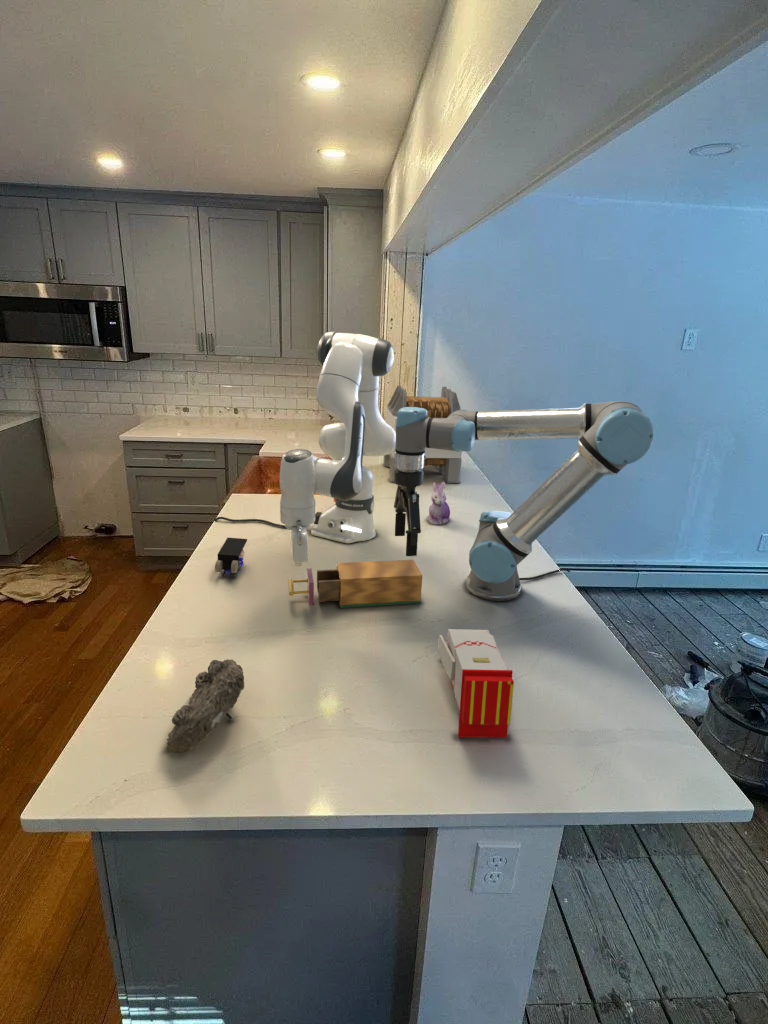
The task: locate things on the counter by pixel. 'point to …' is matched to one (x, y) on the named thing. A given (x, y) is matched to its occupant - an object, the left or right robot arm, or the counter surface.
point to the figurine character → (230, 556)
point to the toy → (478, 682)
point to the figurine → (439, 506)
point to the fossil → (206, 705)
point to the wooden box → (379, 583)
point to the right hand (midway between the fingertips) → (405, 545)
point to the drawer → (319, 585)
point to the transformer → (435, 408)
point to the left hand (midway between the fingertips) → (298, 563)
